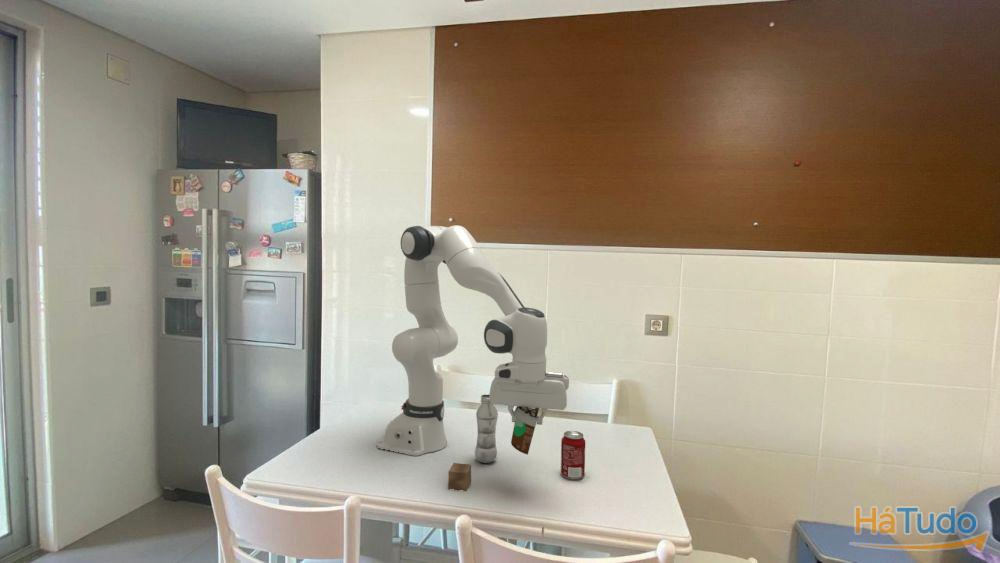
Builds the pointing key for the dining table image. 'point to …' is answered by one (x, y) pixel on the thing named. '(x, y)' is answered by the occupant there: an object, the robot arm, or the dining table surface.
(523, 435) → the food container
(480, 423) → the plastic bottle
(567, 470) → the soda can
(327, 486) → the dining table surface
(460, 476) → the walnut block
